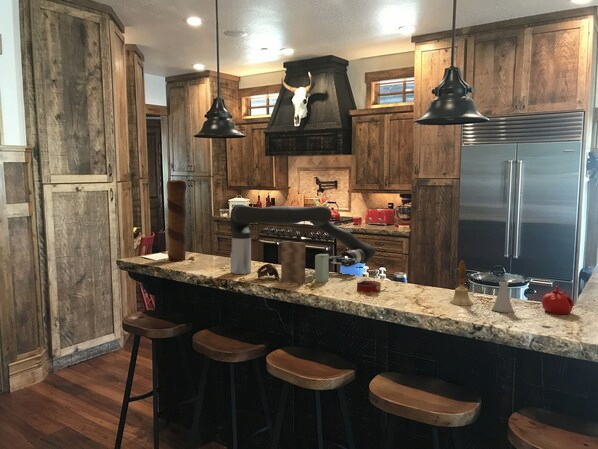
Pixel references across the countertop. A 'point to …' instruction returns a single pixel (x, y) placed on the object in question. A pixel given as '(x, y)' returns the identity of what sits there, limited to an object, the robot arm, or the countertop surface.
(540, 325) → the countertop surface
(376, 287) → the canned food
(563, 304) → the pomegranate
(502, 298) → the flask
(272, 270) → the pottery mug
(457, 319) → the countertop surface
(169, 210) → the wafer roll
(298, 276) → the brown upright block
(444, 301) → the countertop surface
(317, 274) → the grey-green cylinder
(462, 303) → the hand bell
